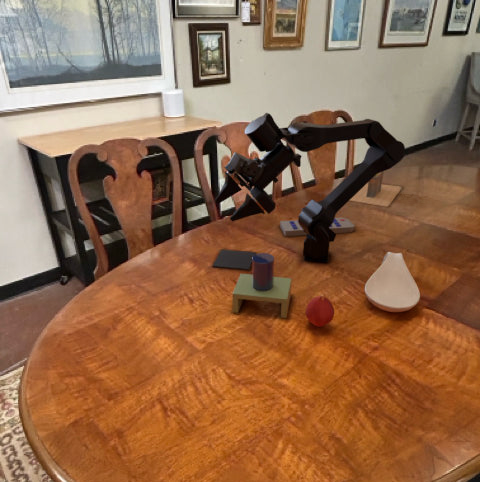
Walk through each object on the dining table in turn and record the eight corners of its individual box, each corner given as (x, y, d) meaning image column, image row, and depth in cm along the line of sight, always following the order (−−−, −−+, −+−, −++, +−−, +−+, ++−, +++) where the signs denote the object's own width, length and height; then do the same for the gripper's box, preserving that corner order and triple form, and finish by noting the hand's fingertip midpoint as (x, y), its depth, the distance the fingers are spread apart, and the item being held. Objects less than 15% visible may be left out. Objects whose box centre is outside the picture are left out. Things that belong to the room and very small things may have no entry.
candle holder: (274, 281, 95) (275, 253, 92) (271, 292, 91) (272, 264, 88) (254, 279, 96) (254, 252, 93) (250, 290, 92) (250, 262, 89)
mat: (255, 253, 119) (255, 252, 119) (249, 270, 110) (249, 269, 110) (221, 250, 121) (221, 249, 120) (212, 267, 112) (212, 265, 112)
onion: (302, 318, 91) (304, 287, 87) (328, 317, 92) (331, 286, 88) (308, 335, 86) (310, 303, 82) (335, 333, 87) (339, 301, 83)
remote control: (280, 226, 135) (280, 220, 134) (347, 222, 137) (348, 216, 136) (285, 236, 129) (285, 230, 127) (356, 232, 131) (357, 225, 129)
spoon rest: (418, 324, 89) (425, 295, 85) (361, 315, 92) (365, 287, 89) (413, 271, 109) (418, 246, 105) (366, 265, 112) (369, 241, 108)
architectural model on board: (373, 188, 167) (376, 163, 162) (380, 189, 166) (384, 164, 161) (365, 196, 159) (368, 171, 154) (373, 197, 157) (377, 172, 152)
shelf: (290, 296, 99) (291, 278, 97) (286, 318, 91) (287, 299, 89) (241, 291, 101) (240, 273, 99) (232, 312, 94) (232, 293, 91)
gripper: (236, 129, 101) (189, 174, 102) (273, 157, 87) (218, 209, 89) (260, 159, 108) (216, 201, 110) (296, 190, 95) (246, 237, 97)
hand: (223, 211), depth 101 cm, fingers open, 9 cm apart
